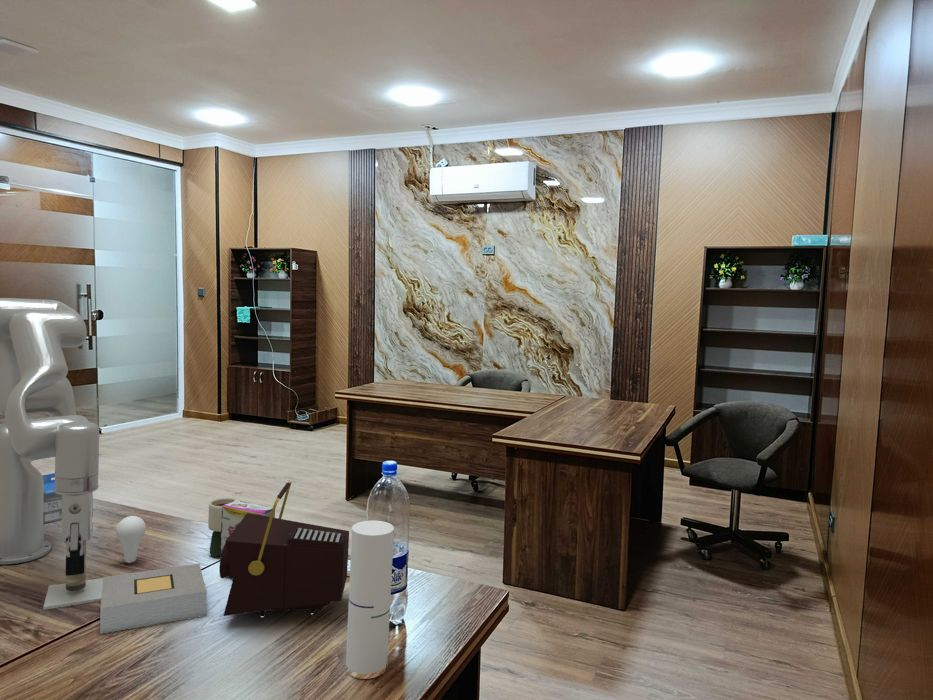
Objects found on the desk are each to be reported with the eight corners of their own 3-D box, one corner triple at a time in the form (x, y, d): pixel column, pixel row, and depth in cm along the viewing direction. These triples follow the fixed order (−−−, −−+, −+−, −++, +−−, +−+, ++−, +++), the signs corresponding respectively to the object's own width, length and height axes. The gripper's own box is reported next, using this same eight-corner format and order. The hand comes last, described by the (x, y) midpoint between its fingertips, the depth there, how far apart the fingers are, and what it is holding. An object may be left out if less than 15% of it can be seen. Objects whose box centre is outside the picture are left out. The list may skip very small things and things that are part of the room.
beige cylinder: (65, 592, 125) (65, 534, 124) (66, 584, 128) (67, 528, 127) (85, 589, 127) (86, 532, 126) (86, 582, 130) (87, 526, 129)
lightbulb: (150, 558, 146) (151, 513, 146) (134, 569, 140) (135, 522, 140) (126, 556, 147) (127, 511, 146) (109, 567, 141) (110, 519, 140)
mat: (43, 610, 121) (43, 607, 121) (49, 588, 129) (49, 585, 129) (102, 600, 125) (102, 598, 125) (104, 580, 134) (104, 577, 134)
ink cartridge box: (44, 524, 164) (44, 478, 163) (37, 521, 166) (37, 475, 165) (79, 516, 171) (80, 472, 170) (73, 512, 173) (73, 469, 172)
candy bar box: (218, 576, 139) (220, 505, 138) (233, 568, 144) (235, 499, 143) (259, 586, 136) (262, 513, 135) (273, 577, 140) (276, 506, 139)
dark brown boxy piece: (239, 589, 134) (242, 476, 132) (347, 590, 136) (352, 479, 134) (215, 629, 117) (219, 500, 116) (339, 629, 119) (344, 503, 118)
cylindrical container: (347, 655, 111) (354, 520, 109) (387, 656, 112) (394, 521, 110) (343, 679, 104) (349, 534, 102) (386, 679, 104) (393, 535, 103)
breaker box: (100, 634, 113) (100, 608, 113) (102, 600, 125) (103, 577, 125) (205, 615, 122) (206, 591, 122) (198, 586, 134) (199, 563, 134)
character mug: (248, 556, 151) (250, 504, 150) (221, 564, 145) (222, 510, 144) (225, 543, 158) (226, 493, 157) (198, 551, 152) (199, 499, 151)
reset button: (137, 608, 119) (137, 593, 119) (136, 594, 125) (136, 580, 125) (171, 602, 122) (171, 588, 122) (169, 589, 128) (169, 575, 127)
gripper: (96, 492, 120) (95, 584, 122) (99, 471, 135) (98, 552, 136) (50, 496, 117) (49, 590, 118) (58, 473, 131) (57, 557, 132)
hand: (75, 569), depth 127 cm, fingers closed on beige cylinder, 3 cm apart
